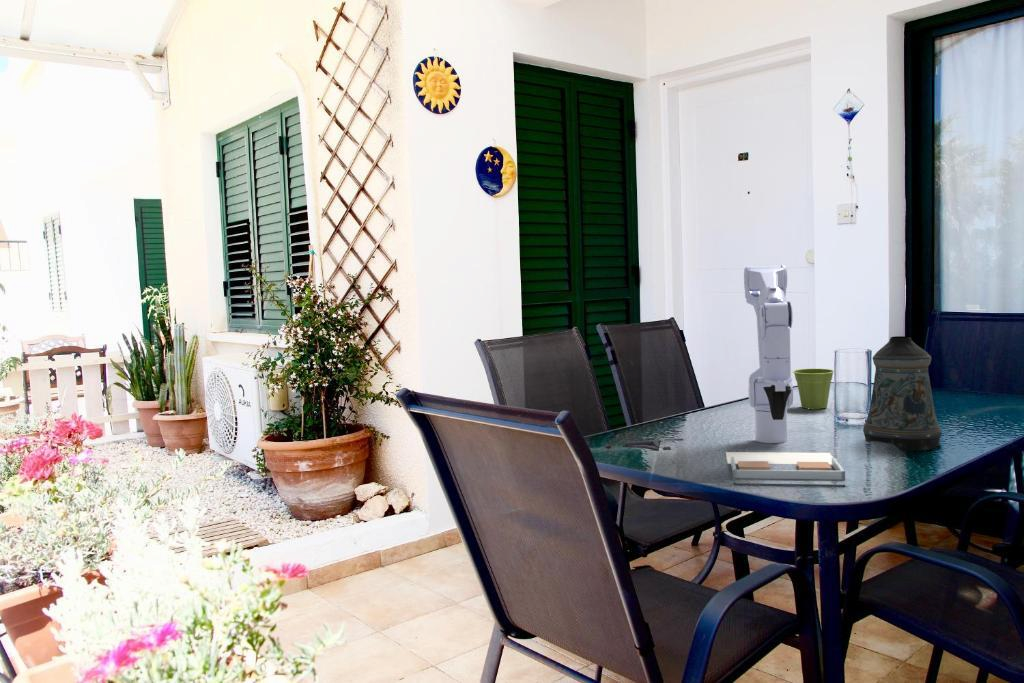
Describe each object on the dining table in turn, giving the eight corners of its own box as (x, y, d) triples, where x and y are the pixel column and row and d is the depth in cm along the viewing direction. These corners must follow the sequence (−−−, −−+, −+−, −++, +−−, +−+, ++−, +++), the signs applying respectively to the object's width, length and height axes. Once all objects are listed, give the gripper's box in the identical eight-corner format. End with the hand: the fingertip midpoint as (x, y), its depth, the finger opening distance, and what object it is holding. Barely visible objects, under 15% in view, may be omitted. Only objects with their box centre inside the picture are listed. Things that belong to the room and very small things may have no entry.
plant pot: (788, 405, 247) (787, 369, 246) (827, 404, 246) (826, 367, 245) (800, 411, 235) (799, 373, 234) (841, 410, 234) (840, 372, 234)
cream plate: (725, 458, 180) (725, 452, 180) (829, 459, 175) (829, 452, 175) (727, 470, 169) (727, 463, 169) (838, 471, 164) (838, 464, 164)
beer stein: (894, 453, 178) (893, 341, 176) (841, 437, 197) (840, 336, 195) (958, 447, 181) (958, 337, 180) (900, 432, 200) (899, 332, 199)
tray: (731, 470, 169) (730, 456, 169) (834, 471, 164) (834, 457, 164) (733, 485, 157) (733, 470, 157) (845, 486, 153) (845, 471, 152)
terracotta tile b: (796, 471, 165) (796, 461, 165) (827, 471, 163) (827, 462, 163) (800, 477, 160) (799, 467, 160) (831, 477, 159) (831, 467, 158)
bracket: (638, 461, 184) (638, 449, 184) (625, 447, 199) (624, 436, 199) (699, 458, 185) (699, 446, 185) (681, 445, 200) (681, 434, 200)
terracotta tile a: (738, 470, 168) (737, 461, 167) (767, 470, 166) (767, 461, 166) (739, 476, 163) (739, 466, 163) (770, 476, 161) (769, 467, 161)
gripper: (754, 354, 182) (756, 413, 183) (760, 361, 167) (761, 425, 169) (787, 353, 180) (788, 413, 181) (795, 361, 166) (796, 425, 167)
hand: (777, 419), depth 175 cm, fingers closed
